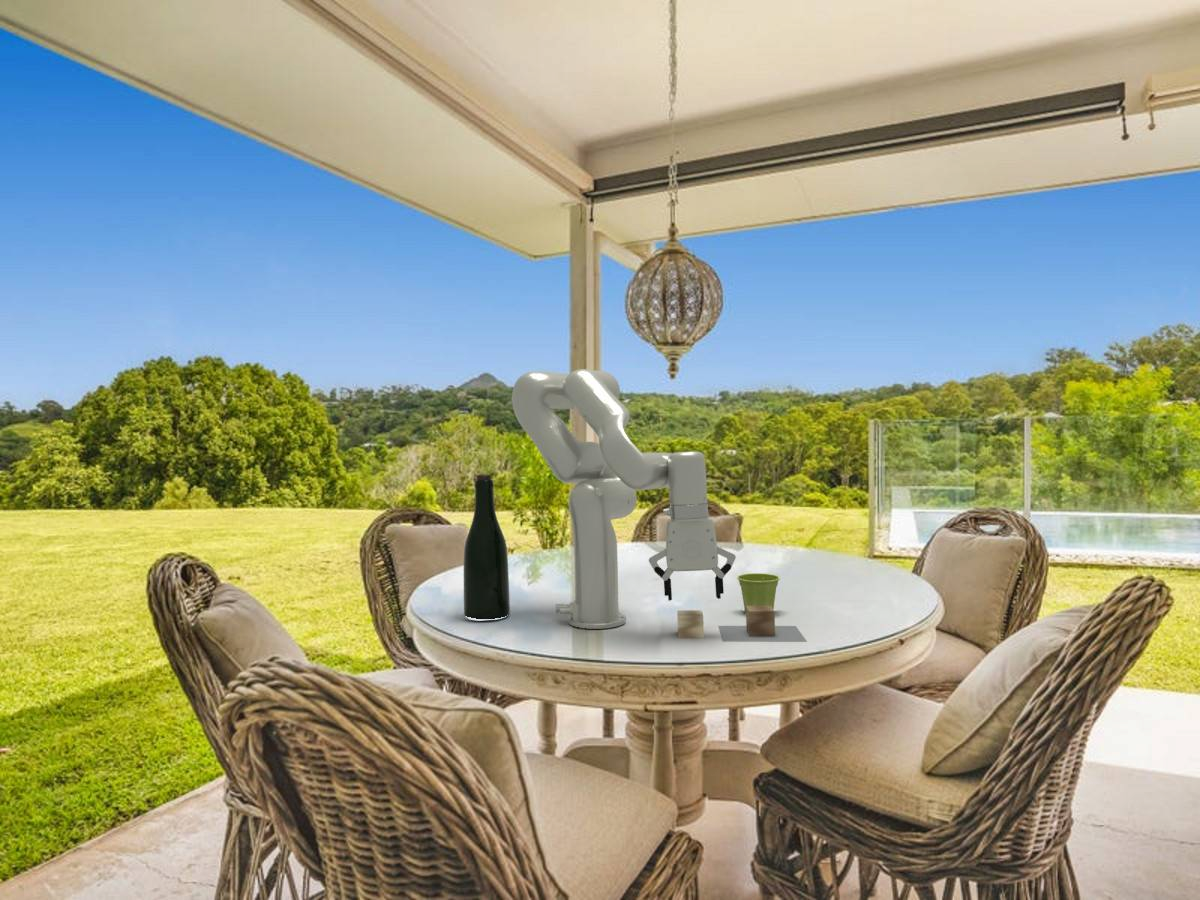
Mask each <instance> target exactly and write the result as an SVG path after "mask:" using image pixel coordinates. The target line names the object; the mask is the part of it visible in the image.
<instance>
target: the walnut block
mask: <svg viewBox="0 0 1200 900" xmlns="http://www.w3.org/2000/svg"><path fill="white" fill-rule="evenodd" d="M745 615H746V616H745V620H746V624H745V626H746V629H747V632H748V635H749V637H775V626H776V622H775V621H776V620H775V619H776V618H775V617H776V616H775V609H774V610H773V608H772V607H771V606H746V613H745Z"/></svg>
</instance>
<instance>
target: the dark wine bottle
mask: <svg viewBox="0 0 1200 900" xmlns="http://www.w3.org/2000/svg"><path fill="white" fill-rule="evenodd" d="M473 485H474V486H473V487H474V495H475V496H474V511H473V512H474V513H473V517H472V521H471V524H470V527H469V530H468V534H467V537H466V539H465V544H464V549H463V615H465V616H467V617H471V618H476V619H495V618H501V617H505V616H507V615H508V616H510V611H511V606H510V602H511V601H510V579H509V560H508V559H509V558H508V557H509V556H508V548H507V546H508V545H507V541H506V538H505V536H504V533H503V531H502V527H501V526H500V523H499V520H498V518H497V515H496V514H497V513H496V508H495V497H494V496H495V495H494V487H495V484H494V480H493V479H492V475H491V474H486V473H483V474H477V475H476V480H474V484H473ZM465 616H464V617H465ZM508 616H507V617H508Z"/></svg>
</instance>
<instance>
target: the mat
mask: <svg viewBox="0 0 1200 900" xmlns="http://www.w3.org/2000/svg"><path fill="white" fill-rule="evenodd" d="M718 630H719V634H720V637H721V641H722V642H723V643H724V642H727V643H729V642H731V643H732V642H733V643H735V642H737V643H738V642H740V643H741V642H746V643H747V642H753V643H755V642H756V643H757V642H758V643H759V642H761V643H763V642H766V643H771V642H772V643H773V642H774V643H775V642H776V643H781V642H782V643H783V642H784V643H786V642H788V643H789V642H790V643H796V642H797V643H803V642H807V643H808V641H807V639H806V638H805V636H804V635H803V634H802V632H801V631H800V630H799V628H798V627H797V626H796V625H775V637H749V635H748V632H747V629H746V625H718Z"/></svg>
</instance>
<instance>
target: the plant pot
mask: <svg viewBox="0 0 1200 900" xmlns="http://www.w3.org/2000/svg"><path fill="white" fill-rule="evenodd" d="M736 578H737V580H738V582H739V586H740V588H741V595H742V602H743V607H744V609H743V610H744V613H745V614H746V606H771V607H772V608H773V610H774V611H775V599H776V593H777V587H778V585H779V581H780V580H781V578H780V576H779V575H776V574H771V573H761V572H760V573H759V572H758V573H755V572H754V573H752V572H751V573H742V574H740V575H737V576H736Z"/></svg>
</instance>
